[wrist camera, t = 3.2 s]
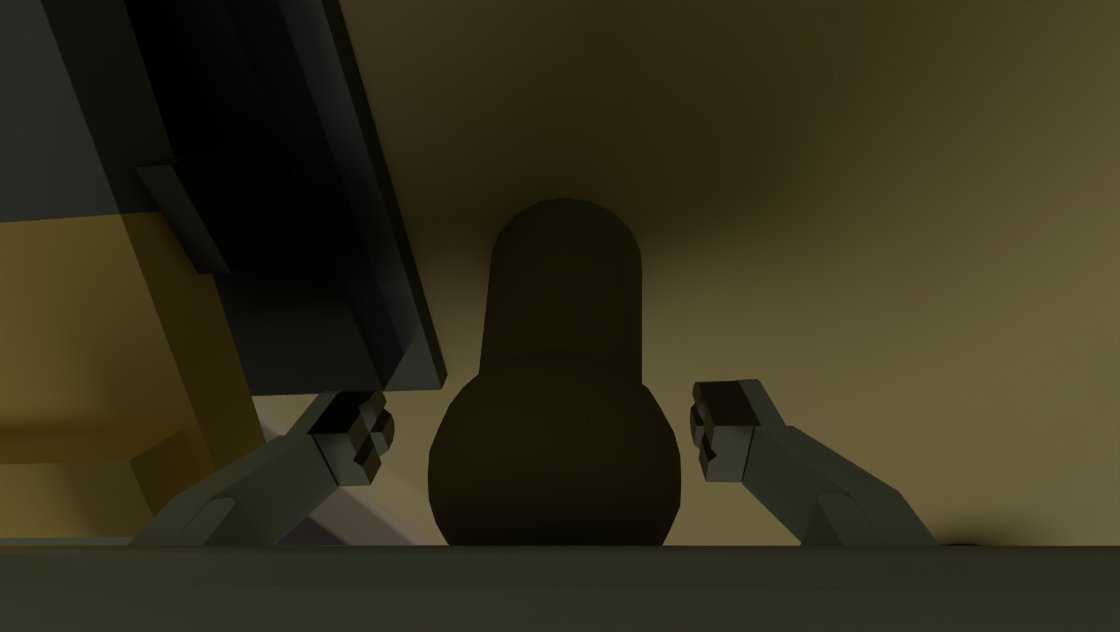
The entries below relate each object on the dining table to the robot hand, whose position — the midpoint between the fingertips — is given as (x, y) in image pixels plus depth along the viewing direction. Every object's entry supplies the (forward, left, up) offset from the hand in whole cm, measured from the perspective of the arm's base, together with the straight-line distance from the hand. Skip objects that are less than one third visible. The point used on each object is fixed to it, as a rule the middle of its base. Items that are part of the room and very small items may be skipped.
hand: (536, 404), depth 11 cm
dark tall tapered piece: (0, +1, -7) cm, 7 cm away
